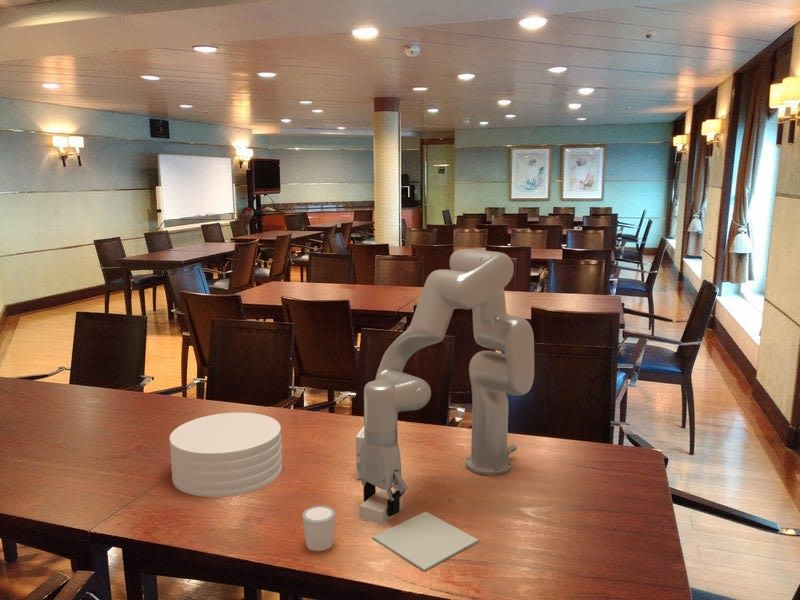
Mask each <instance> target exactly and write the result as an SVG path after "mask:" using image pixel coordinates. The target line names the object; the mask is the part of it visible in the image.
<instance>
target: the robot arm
mask: <svg viewBox="0 0 800 600" xmlns="http://www.w3.org/2000/svg"><path fill="white" fill-rule="evenodd" d="M449 268H450V269H442V268H441V269H436V270H433V271H432V272H431V273H430V274H428V276H427V278H426V280H425V282H424V286H423V289H422V292H421V293H420V296H419V300H418V302H417V305H416V307H415V311H414V313H413V317H412V319H411V321H410V325H409V326H408V328H406V329H405V331H404V332H402V333H401V334H400V335H399V336H398V337H397V338H396V339H395V340H394V341H393V342H392V343H391V344H390V345H389V346H388V348H387V349H386V351H385V352H384V354H383V356H382V357H381V358H382V359H381V361H380V364H379V367H378V368H377V372H376V375H375V379H374V380H372V381H368V382H367V383H366V384H365V385H364V388H363V426H364V438H363V440H362V444H361V451H360V462H359V463H356V468H357V467H358V470H359V472H360V473H359V474H360V477H361V479H362V480H361V484H362V486H363V503H364V502H365V501H366V500H368V498H370V497H371V496H372V495H374V494H375V493H377V491H376V488H377V489H380V490H384V491H387V493H388V496H389V499H388V500H387V515H388V516H389V517H390V516H393V515H394V516H395V515H397V514H399V513H400V511H401V510H400V497H402V498H403V496H404V494H405V492H406V491H407V490H408V487H409V486H408V484H407V483H406V482H405V480H404V478H403V477H402V462H401V461H402V460H401V453H400V452H401V451H400V446H399V443H398V437H399V436H398V435H399V434H398V430H399V429H398V414H399V412H410V411H417V410H419V409H420V410H421V409H422V408H424V407H425V406H426V405H427V404H428V403H429V401H430V399H431V396H432V389H431V386H430V385H429V383H428V382H426V380H424V379H422V378H420V377H418V376H414V375H411V374H408V373H405V372H403V370H404V368H405V366H406V363H407V362H408V361H409V359H410V358H411V356H412V355H413V354H416V352H418V351H420V350H421V349H424V348H427V347H428V346H431V345H435V344H438V343H440V342H442V341H443V340H444V339H445V337H446V333H447V330H448V327H449V324H450V321H451V318H452V316H453V312H454V310H455V308H458V309H462V310H463V309H464V310H472V329H473V337H474V340H475V343H476V344H477V345H479V346H481V347H482V348H486V349H489V350H482V351H478V352H477V353H475V354H474V355H473V356H472V358H471V359H470V361H469V365H468V373H469V381H470V384H471V395H472V397H471V398H472V402H471V403H472V405H471V406H472V407H471V408H472V409H471V452H470V453H471V454H469V455H468V456H467V457H466V458H465V463H464V464H465V467H466V468H467V469H468V470H469V471H471V472H472V473H473V472H474V473H475V474H480V475H484V476H499V475H500V476H501V475H503V474H506V473H509V472H510V471H511V470H512V469H513V461H512V460H511V458H510V457H509V456H510V455H511V453H514V452H517V450H518V448H517V447H518V446H517V445H516V444H511V445H508V435H509V434H508V433H509V432H508V429H509V400H508V395H511V396H516V397H517V396H524V395H526V394H528V393H529V392H530V390H531V388H532V387H533V383H534V378H535V337H534V331H533V328H532V325H531V324H530V323H529V321H528V320H527V319H525V318H523V317H521V316H517V315H511V314H509V313H508V311H507V307H506V306H507V303H506V294H505V289H504V288H505V287H506V286H507V285H508V284H509V283H510V282H511V280H512V278H513V275H514V263H513V261H512V259H511V258H510V256H509V255H508V254H506V253H504V252H499V251H492V250H491V251H490V250H482V249H473V248H463V249H457V250H455V251H453V252H452V253H451V255H450V258H449ZM392 489H393V490H394V492H393V490H392ZM394 516H393V517H394Z"/></svg>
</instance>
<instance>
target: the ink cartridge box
mask: <svg viewBox="0 0 800 600" xmlns="http://www.w3.org/2000/svg"><path fill="white" fill-rule="evenodd" d="M363 438H364V425H363V426H362V428H361V429H360V430H359V432H357V435H356V436H355V455H356V456H355V457H356V463H355V464H357V463H359V462H360V451H361V444H362V440H363ZM359 473H360V472H359V470H358V467H357V466H356V480H359V479H361V477H360V474H359ZM361 481H362V479H361Z"/></svg>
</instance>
